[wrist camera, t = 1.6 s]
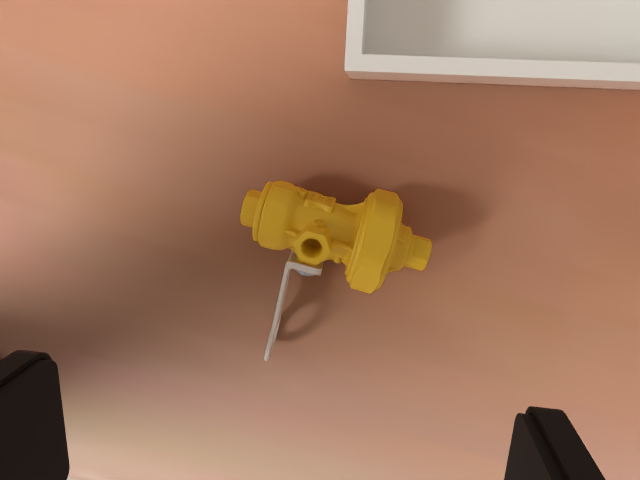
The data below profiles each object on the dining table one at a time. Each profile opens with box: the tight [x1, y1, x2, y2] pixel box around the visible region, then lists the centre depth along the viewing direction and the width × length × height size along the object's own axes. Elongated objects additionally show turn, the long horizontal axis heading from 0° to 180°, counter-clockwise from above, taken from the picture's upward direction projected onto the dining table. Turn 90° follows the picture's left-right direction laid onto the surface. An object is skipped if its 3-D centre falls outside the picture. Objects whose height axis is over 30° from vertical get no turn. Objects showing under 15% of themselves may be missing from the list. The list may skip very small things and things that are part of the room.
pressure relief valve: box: [240, 180, 432, 361], centre depth 27 cm, size 6×12×10 cm
